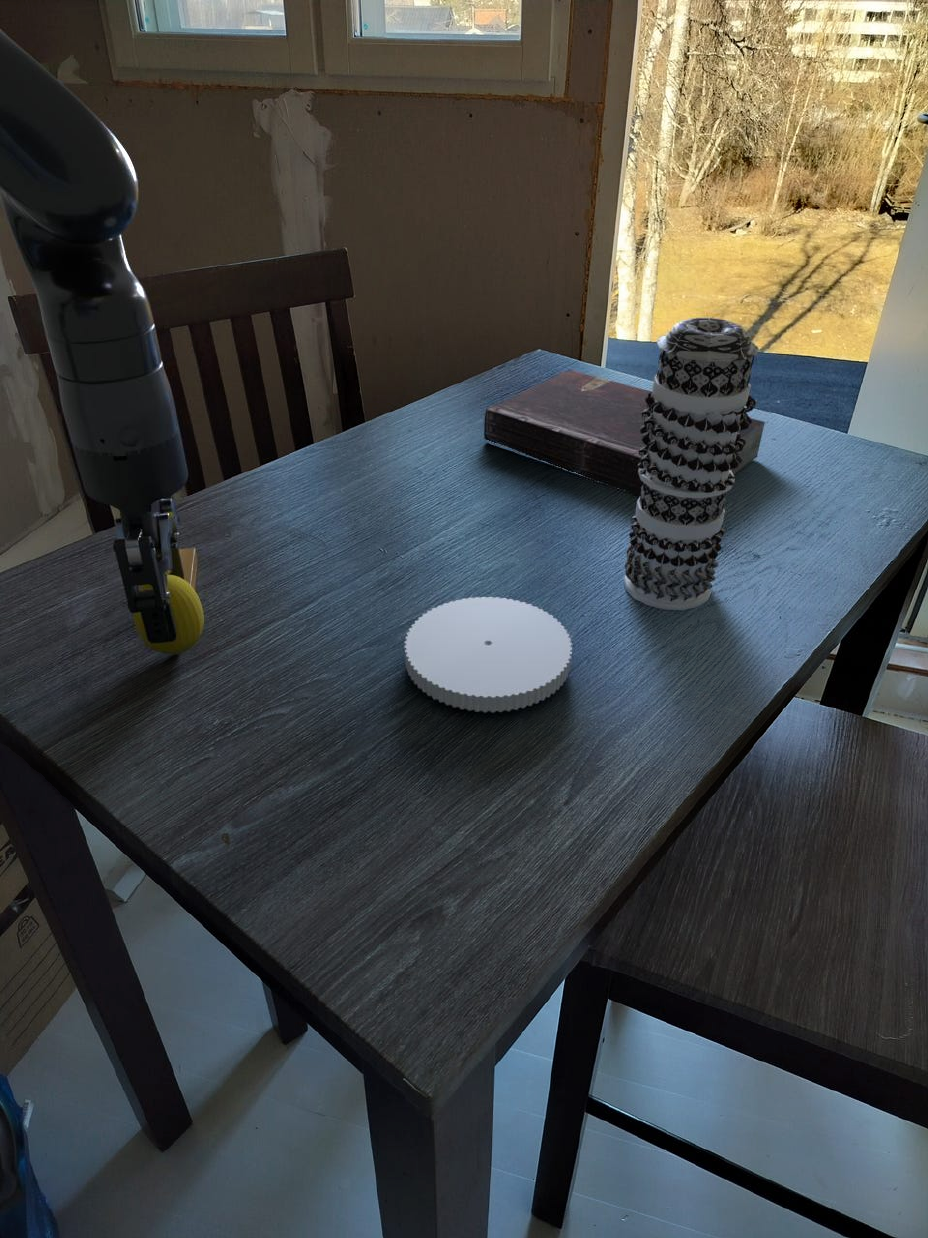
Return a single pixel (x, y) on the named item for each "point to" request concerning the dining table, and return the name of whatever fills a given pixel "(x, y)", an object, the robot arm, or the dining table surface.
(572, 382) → the hardback book
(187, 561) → the block
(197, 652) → the dining table surface
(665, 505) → the decorative candle
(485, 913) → the dining table surface
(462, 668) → the white gear wheel
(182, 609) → the lemon
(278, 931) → the dining table surface
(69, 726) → the dining table surface
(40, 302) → the robot arm
